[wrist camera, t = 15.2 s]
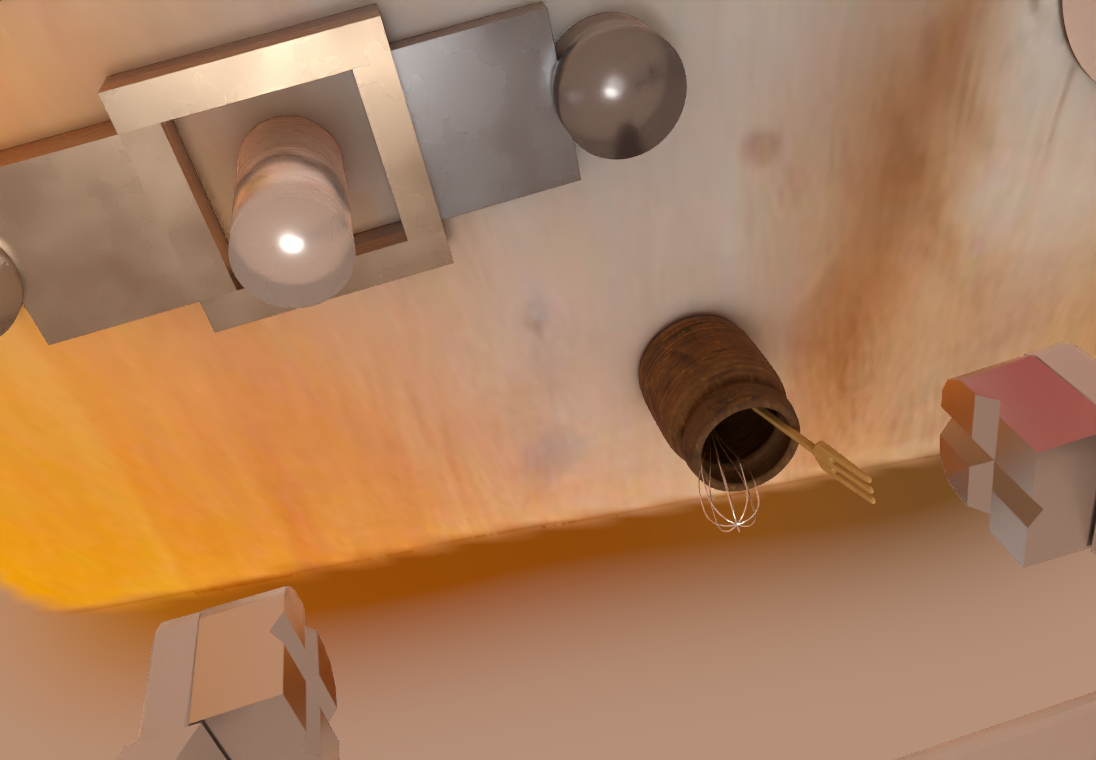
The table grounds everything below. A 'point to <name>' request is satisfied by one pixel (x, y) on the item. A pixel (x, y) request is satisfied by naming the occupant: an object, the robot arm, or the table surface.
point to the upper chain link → (188, 192)
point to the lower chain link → (513, 101)
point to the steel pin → (291, 215)
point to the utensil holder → (728, 410)
